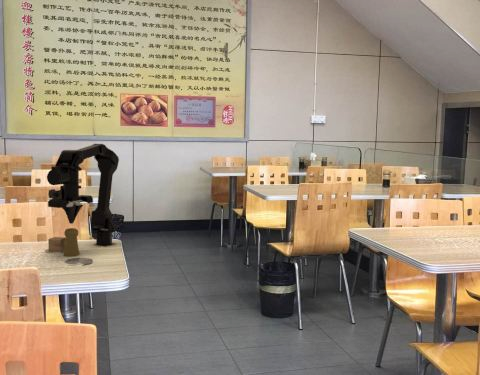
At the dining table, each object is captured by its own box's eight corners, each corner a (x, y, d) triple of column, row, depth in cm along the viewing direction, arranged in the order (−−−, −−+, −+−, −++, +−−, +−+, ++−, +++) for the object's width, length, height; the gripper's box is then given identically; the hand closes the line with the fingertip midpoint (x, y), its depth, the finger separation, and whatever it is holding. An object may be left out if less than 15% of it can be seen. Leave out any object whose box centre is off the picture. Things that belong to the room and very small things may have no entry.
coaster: (57, 248, 220) (57, 246, 220) (76, 251, 216) (76, 249, 216) (38, 252, 211) (38, 251, 211) (58, 255, 207) (57, 254, 207)
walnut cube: (55, 248, 216) (54, 236, 216) (66, 249, 215) (66, 237, 215) (48, 251, 211) (48, 239, 211) (60, 252, 210) (60, 239, 210)
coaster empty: (77, 258, 204) (77, 256, 204) (98, 261, 200) (98, 259, 200) (58, 263, 195) (58, 262, 195) (80, 267, 191) (80, 265, 191)
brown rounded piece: (74, 258, 203) (74, 230, 202) (60, 257, 204) (60, 229, 203) (82, 255, 209) (82, 227, 208) (68, 254, 210) (68, 226, 209)
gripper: (72, 180, 215) (72, 218, 217) (36, 183, 198) (37, 225, 200) (93, 181, 210) (93, 220, 212) (59, 185, 194) (59, 227, 195)
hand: (71, 223), depth 205 cm, fingers closed
